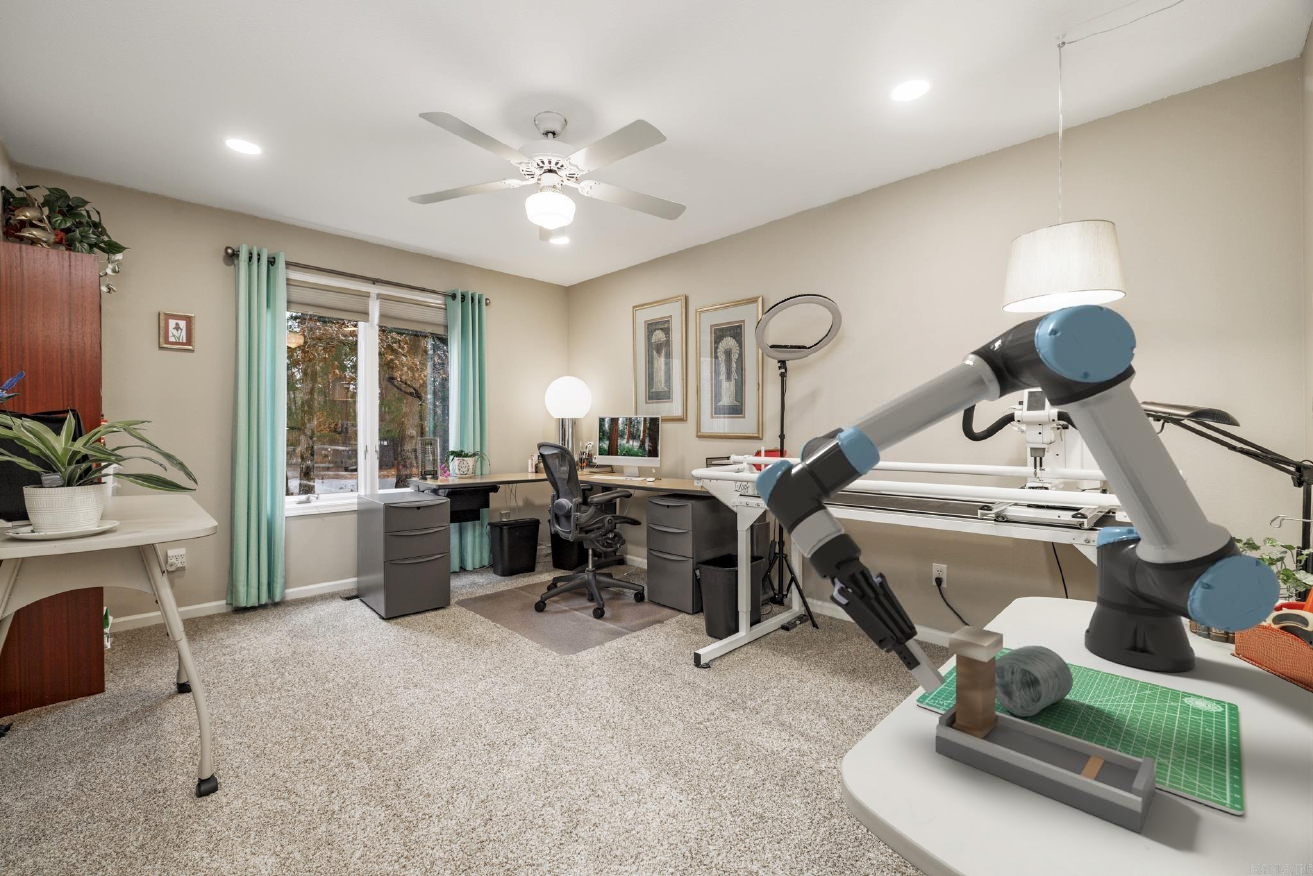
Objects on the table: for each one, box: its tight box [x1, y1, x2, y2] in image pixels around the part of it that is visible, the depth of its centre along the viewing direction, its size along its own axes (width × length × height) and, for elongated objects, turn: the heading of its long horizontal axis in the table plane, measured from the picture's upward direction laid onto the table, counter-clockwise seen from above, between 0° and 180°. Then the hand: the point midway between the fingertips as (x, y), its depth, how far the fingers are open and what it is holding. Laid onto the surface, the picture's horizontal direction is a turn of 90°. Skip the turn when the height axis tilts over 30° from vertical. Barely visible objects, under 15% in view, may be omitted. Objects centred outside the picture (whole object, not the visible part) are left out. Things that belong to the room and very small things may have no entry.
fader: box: [948, 625, 1004, 739], centre depth 74 cm, size 4×7×12 cm, turn 132°
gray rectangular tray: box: [935, 702, 1156, 834], centre depth 69 cm, size 20×10×4 cm, turn 42°
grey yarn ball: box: [995, 645, 1074, 717], centre depth 85 cm, size 14×10×10 cm
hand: (937, 687), depth 77 cm, fingers closed
